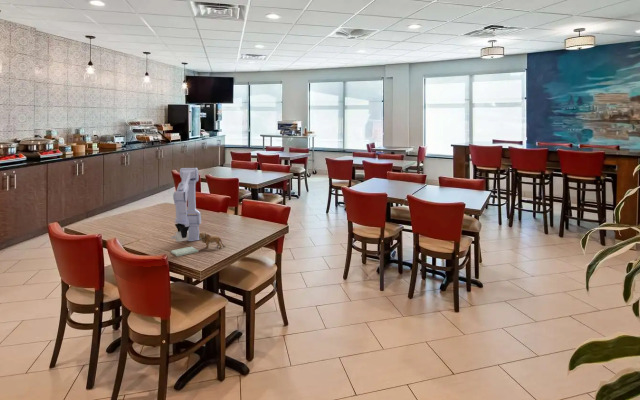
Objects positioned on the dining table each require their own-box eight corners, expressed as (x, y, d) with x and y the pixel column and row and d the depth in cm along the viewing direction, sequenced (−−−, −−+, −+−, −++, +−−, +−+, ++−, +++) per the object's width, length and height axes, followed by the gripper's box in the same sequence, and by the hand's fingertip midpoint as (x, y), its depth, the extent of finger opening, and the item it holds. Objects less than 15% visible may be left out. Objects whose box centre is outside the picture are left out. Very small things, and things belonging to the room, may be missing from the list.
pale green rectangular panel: (170, 252, 220) (170, 250, 220) (191, 248, 228) (191, 246, 228) (177, 256, 214) (177, 254, 214) (198, 251, 221) (198, 250, 221)
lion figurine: (198, 249, 226) (197, 233, 225) (200, 246, 232) (199, 231, 230) (224, 248, 227) (223, 233, 225) (226, 246, 232) (225, 231, 231)
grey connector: (170, 241, 218) (170, 232, 217) (187, 238, 224) (186, 229, 223) (172, 242, 215) (172, 233, 214) (189, 239, 221) (189, 230, 220)
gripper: (169, 211, 220) (170, 235, 223) (179, 216, 210) (181, 241, 212) (181, 209, 225) (183, 233, 228) (192, 214, 214) (193, 238, 217)
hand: (183, 236), depth 220 cm, fingers closed on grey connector, 3 cm apart
